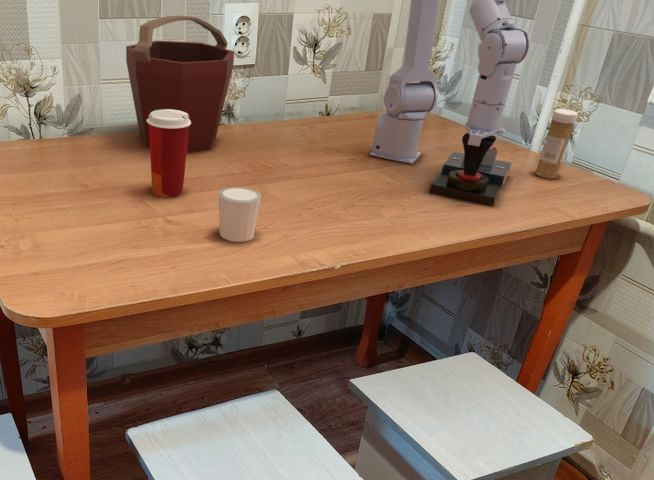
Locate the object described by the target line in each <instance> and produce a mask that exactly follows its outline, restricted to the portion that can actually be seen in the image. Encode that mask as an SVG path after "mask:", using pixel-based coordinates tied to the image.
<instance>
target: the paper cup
mask: <svg viewBox="0 0 654 480" xmlns="http://www.w3.org/2000/svg"><path fill="white" fill-rule="evenodd" d="M146 121H147V123H148V124H149V137H150V148H149V157H150V158H149V159H150V172H151V173H150V174H151V175H150V176H151V189H152V194H153V195H156V196H157V197H163V198H175V197H179V196H181V195H182V194H183V191H184V185H185V183H184V181H185V173H186V163H187V154H188V152H187V145H188V133H189V125H191V121H190V120H189V115H188V114H187V113H186V112H183V111H179V110H172V109H161V110H155V111H152V112H151V113H150V115H149V118H148V119H147V120H146Z"/></svg>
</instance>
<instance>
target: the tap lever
mask: <svg viewBox="0 0 654 480" xmlns="http://www.w3.org/2000/svg"><path fill="white" fill-rule="evenodd" d="M498 151H499V146H497V145H492V146H491V147H490V148H489V150H488V151H487V152H486V154H485V156H484V158H483V160H482V163H481V165H484V166H489V167H493V165H494V162H495V160H497V159H496V158H497V155H498ZM463 162H464V157H463Z"/></svg>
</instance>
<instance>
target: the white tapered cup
mask: <svg viewBox="0 0 654 480" xmlns="http://www.w3.org/2000/svg"><path fill="white" fill-rule="evenodd" d="M261 200H262V194H261V193H260V192H259V191H258V190H255V188H254V189H253V188H250V187H244V186H228V187H224V188H222V189H220V190H219V192H218V218H219V219H218V220H219V221H218V222H219V223H218V225H219V236H220V237H221V238H223V239H224V240H226V241H230V242H236V243H243V242H248V241H251V240H253V238H254V236H255V233H256V232H255V230H256V227H257V221H258V215H259V210H260V206H261Z"/></svg>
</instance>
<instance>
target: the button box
mask: <svg viewBox="0 0 654 480" xmlns="http://www.w3.org/2000/svg"><path fill="white" fill-rule="evenodd" d="M458 171H460V170H455V171H451V172H450V173H449V175H448V174H443V173H442V172H440V173H439V174H438V175H437V176H436V178H435V179H434V180H433V181H432V183H431V184H430V189H429V194H432V195H437V196H442V197H447V198H451V199H456V200H461V201H465V202H469V203H473V204H479V205H484V206H489V207H494V205H495V204H496V201H497V199H498V198H499V195H500V192H501V191H500V189H501V185H497V184H492V183H488V181H489V178H488V177H487V176H486V175H483V174H481V173H480V174H481V179H480V181H469V180H464V179H461V178H459V177H457V174H458ZM501 190H502V189H501Z"/></svg>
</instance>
